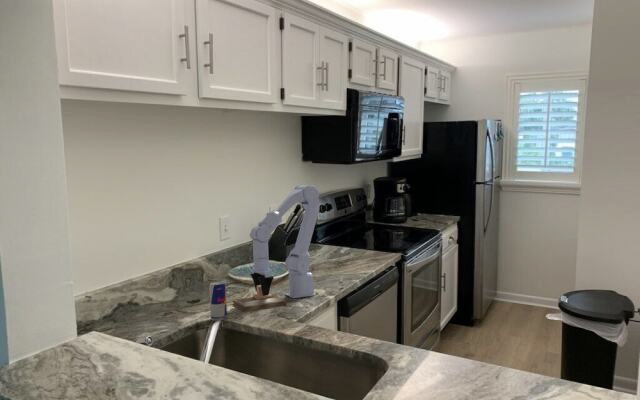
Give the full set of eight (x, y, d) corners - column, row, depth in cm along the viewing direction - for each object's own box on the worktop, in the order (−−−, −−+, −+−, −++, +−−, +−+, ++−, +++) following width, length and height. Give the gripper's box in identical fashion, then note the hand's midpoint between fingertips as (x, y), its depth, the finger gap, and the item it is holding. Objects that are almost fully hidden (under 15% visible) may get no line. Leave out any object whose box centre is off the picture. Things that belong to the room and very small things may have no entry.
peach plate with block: (267, 294, 190) (267, 283, 190) (272, 297, 185) (271, 285, 185) (252, 296, 187) (252, 285, 187) (257, 299, 182) (256, 287, 182)
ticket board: (273, 297, 192) (272, 293, 192) (286, 305, 179) (286, 300, 179) (233, 303, 185) (232, 298, 185) (244, 311, 172) (243, 306, 172)
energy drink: (223, 321, 161) (221, 284, 161) (208, 320, 162) (206, 284, 162) (229, 316, 166) (228, 281, 166) (214, 316, 167) (213, 281, 167)
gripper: (245, 256, 190) (246, 291, 191) (257, 261, 177) (258, 298, 178) (262, 254, 193) (263, 288, 194) (275, 259, 180) (276, 295, 181)
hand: (262, 293), depth 186 cm, fingers open, 7 cm apart
